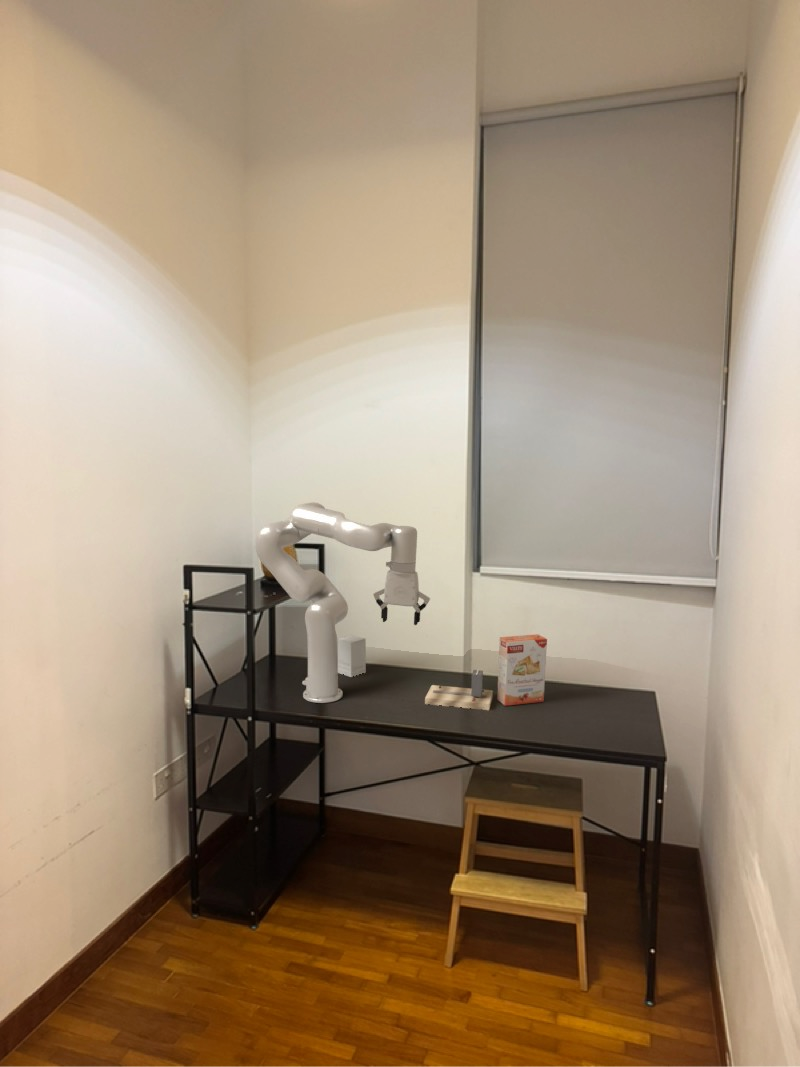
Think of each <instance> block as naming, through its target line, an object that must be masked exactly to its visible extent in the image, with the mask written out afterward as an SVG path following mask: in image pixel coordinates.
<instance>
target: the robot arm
mask: <svg viewBox="0 0 800 1067" xmlns="http://www.w3.org/2000/svg"><path fill="white" fill-rule="evenodd" d="M311 534H313V535H316V536H322V537H325V538H328V539H333V540H335V541H337V542H339V543H341V544H343V545H345V546H348V547H352V548H355V549H359V550H364V551H368V552H378V551H380V550H382V549H387V548H391V554H390V561H386V562H385V567H387V568H389V570H388V571H387V573H386V578H385V582H384V588H383V589H381V590H378V591H375V592H373V597H374V600H375V602H376V604H377V605H378V606H379V608H380V609H381V612H380V616H381V618H380V619H382V623H385V622H386V621H387V620H388V606H387V605H391V606H401V607H403V606H404V607H412V608H413V609H414V610H415V611H414V615H413V617H414V618H413V625H414V626H417V625H418V623H419V622H421V611H423V610H424V609H425V608H427V605H428V604H429V602H430V600H431V598H430V597H429V596H427V595H426V594H424V592H423V593H422V592H421V591H420V588H419V584H420V583H419V576H418V575H419V574H418V571H416V562H417V547H418V546H417V545H418V544H417V543H418V531H417V528H416V527H415V526H414V527H413V526H410V525H409V526H408V525H395V524H391V523H387V522H379V523H377V524H373V525H369V524H365V523H359V522H355V521H353V520H350V519H348V518H346V516H345V514H344V513H343V512H341V511H337V510H333V509H328V508H325V507H324V505H323V504H321V503H319V502H313V501H312V502H307V503H302V504H298V505H297V506H295V507H294V508H293V509H292V510H291V512H290V517H288V518H287V519H284V520H281V521H276V522H271V523H268V524H266V525H264V526H263V527H261V528H260V530H259V531H258V533H257V534H256V538H255V541H254V542H255V547H254V548H255V551H256V552H255V553H256V555H257V558H258V559H259V560H260V561H261V564H262V565H263V566H264V567H265V568H266V569H267V570H268V571H269V572H270V573H271V574H272V576H273V577H274V579H275V580H276V581H277V583H278V584H279V585H280V586H281V588H282V589H283V590H284V591H285V592H286V593H287V595H288V596H289V597H290V598H291V599H292V600H293V601H294V602H296V603H298V604H304V603H307V602H310V601H312V603H311V604H310V605H308V607H307V608H306V610H305V614H304V623H305V627H306V628H305V630H306V638H307V641H306V642H307V676H306V677H305V679H303V680H302V683H301V685H304V686H305V687H306V688H305V690H304V691H303V693H302V697H303V699H304V700H306V701H307V702H311V703H315V704H316V703H318V704H327V703H333V702H336V701H338V700H340V699H341V698H343V695H344V694H343V690H342V689H341V688H339V682H338V680H339V677H338V676H339V673H338V641H337V639H338V634H337V630H336V625H337V624H338V623H340V622H342V621H343V620H344V619H345V618H346V617H347V615H348V612H349V606H348V603H347V601H346V598H345V597H344V596H343V594H341V592H340V591H339V590H338V588H336V586H335V585H334V584H333V582H332V581H331V580H330V579H329V578H328V576H327V575H325V574H324V573H323V572H322V571H320V570H318V569H315V568H310V569H306V570H305V569H304V568H302V566H301V565H300V564H299V563H298V561H296V559H295V558H294V556H292V555H290V554H289V553H287V552H286V550H284V548H286V547H290V546H294V545H296V544H297V543H299V542H301V541H303V540H304V539H306V538H307V537H309V536H310V535H311ZM381 595H383V599H381V598H380V596H381ZM419 598H420V599H421V600H423V603H422V604H420V603H418V602H419Z"/></svg>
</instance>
